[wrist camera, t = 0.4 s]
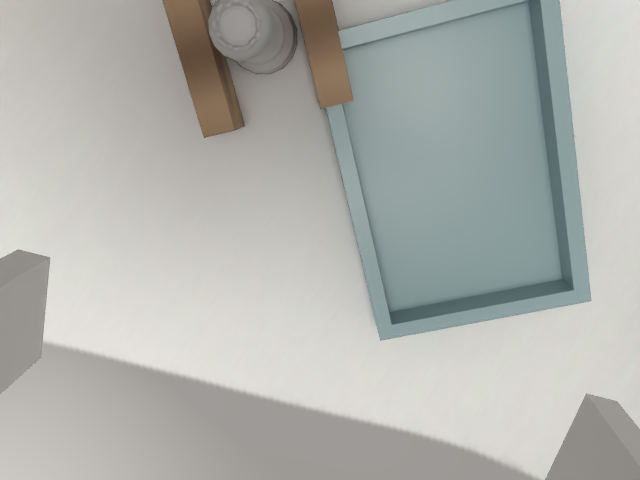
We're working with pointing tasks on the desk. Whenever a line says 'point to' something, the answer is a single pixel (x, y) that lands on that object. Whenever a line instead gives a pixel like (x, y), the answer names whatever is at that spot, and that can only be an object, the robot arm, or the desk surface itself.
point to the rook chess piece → (253, 33)
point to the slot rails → (213, 73)
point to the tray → (462, 164)
